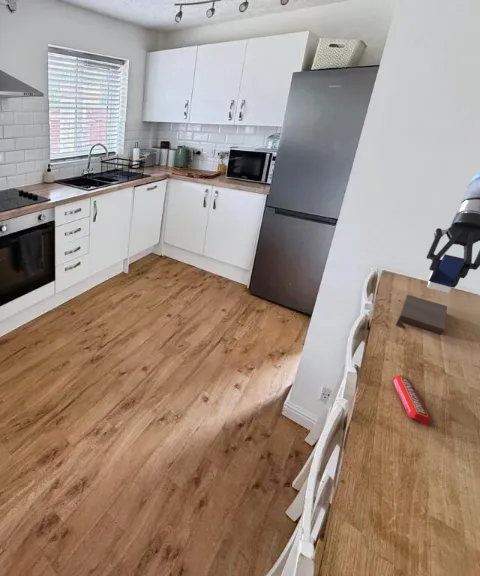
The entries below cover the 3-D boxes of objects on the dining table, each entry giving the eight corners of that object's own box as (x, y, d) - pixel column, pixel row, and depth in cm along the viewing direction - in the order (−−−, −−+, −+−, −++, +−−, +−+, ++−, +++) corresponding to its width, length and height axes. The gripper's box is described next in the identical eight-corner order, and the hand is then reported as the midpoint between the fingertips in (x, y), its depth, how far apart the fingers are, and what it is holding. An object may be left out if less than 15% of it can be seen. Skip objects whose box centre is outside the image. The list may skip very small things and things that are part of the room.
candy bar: (429, 430, 81) (435, 420, 80) (409, 424, 83) (415, 415, 81) (405, 383, 95) (410, 374, 93) (388, 379, 96) (393, 370, 94)
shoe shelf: (402, 304, 133) (407, 294, 131) (441, 316, 127) (447, 306, 125) (395, 325, 120) (400, 315, 118) (438, 340, 113) (444, 329, 111)
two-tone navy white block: (429, 275, 122) (444, 247, 118) (450, 281, 119) (465, 252, 114) (427, 287, 114) (442, 258, 110) (448, 293, 111) (465, 263, 107)
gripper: (505, 232, 111) (477, 297, 108) (431, 218, 122) (403, 278, 118) (516, 218, 105) (487, 287, 102) (438, 205, 116) (409, 267, 112)
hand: (442, 282), depth 110 cm, fingers closed on two-tone navy white block, 5 cm apart
